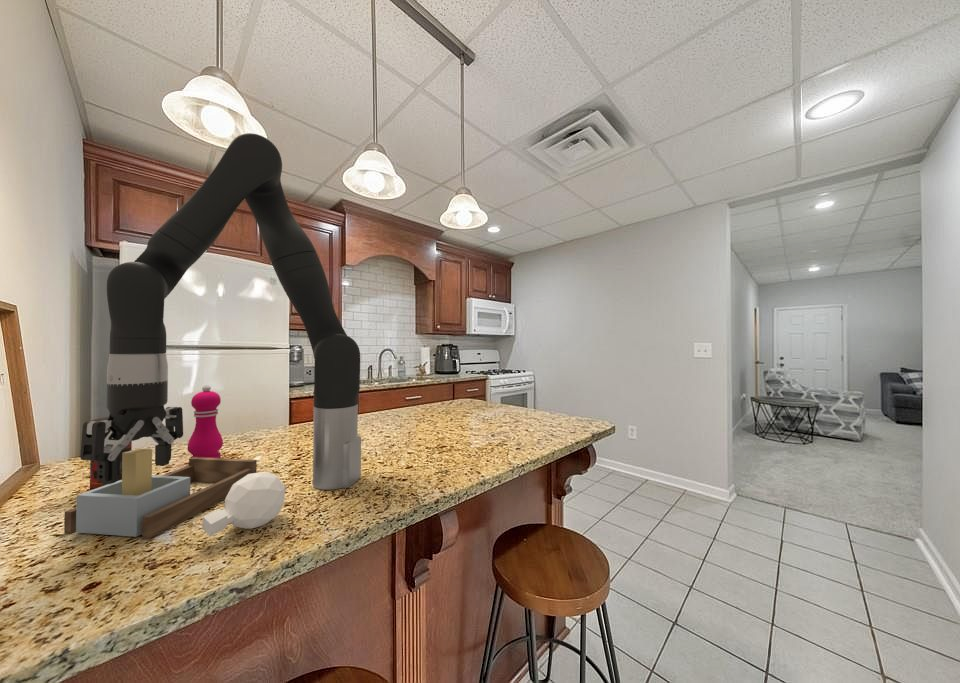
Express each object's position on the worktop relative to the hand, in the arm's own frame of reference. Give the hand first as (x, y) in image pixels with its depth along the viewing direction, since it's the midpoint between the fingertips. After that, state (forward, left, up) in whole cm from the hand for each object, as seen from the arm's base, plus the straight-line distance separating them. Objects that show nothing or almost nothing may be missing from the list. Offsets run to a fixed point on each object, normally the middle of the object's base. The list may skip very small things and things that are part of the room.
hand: (137, 473), depth 60 cm
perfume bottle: (-20, -1, -9) cm, 22 cm away
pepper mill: (+15, -29, -9) cm, 33 cm away
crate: (0, 0, -8) cm, 8 cm away
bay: (0, -7, -8) cm, 11 cm away
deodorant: (+19, -11, -9) cm, 23 cm away
